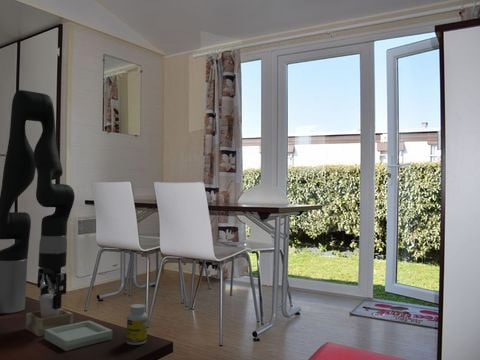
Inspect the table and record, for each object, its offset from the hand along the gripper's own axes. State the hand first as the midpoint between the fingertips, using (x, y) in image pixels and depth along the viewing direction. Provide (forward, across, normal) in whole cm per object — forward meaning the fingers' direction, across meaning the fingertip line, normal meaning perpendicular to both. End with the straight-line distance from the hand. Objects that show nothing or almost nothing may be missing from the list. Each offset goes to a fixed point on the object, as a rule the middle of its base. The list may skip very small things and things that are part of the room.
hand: (50, 306), depth 121 cm
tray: (+7, +14, +2) cm, 16 cm away
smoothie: (+7, 0, 0) cm, 7 cm away
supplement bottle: (+7, +27, +12) cm, 30 cm away
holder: (+7, 0, 0) cm, 7 cm away
